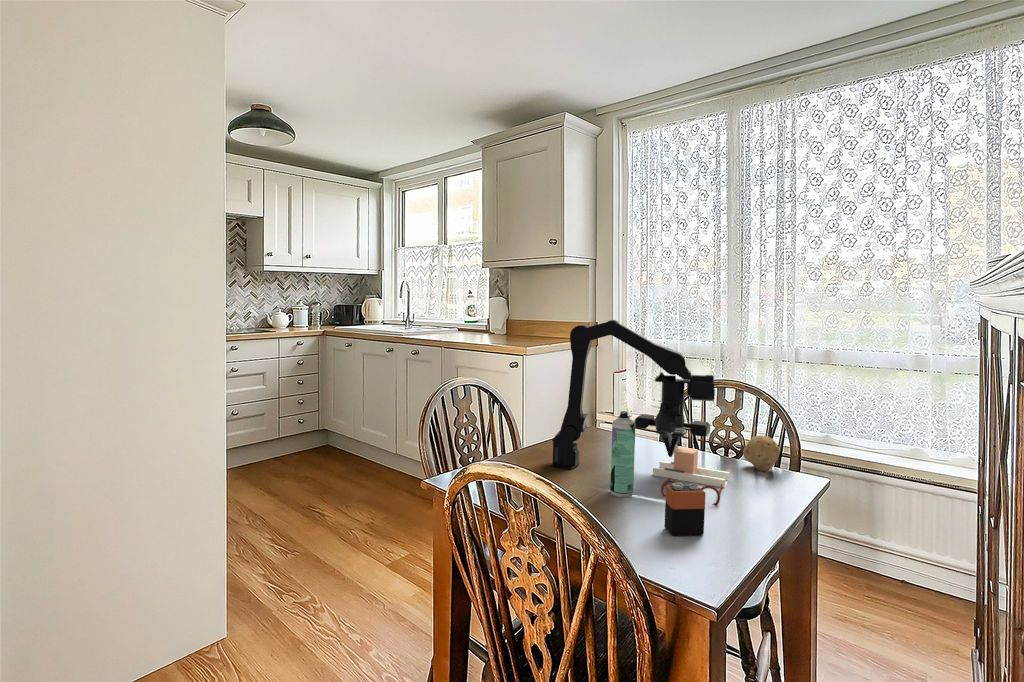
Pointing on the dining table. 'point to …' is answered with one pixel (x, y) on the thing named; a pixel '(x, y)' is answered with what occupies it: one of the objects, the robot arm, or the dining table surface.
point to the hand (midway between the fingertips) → (670, 456)
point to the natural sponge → (761, 452)
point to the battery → (684, 509)
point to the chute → (701, 477)
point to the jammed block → (686, 459)
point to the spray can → (622, 456)
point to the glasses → (701, 488)
